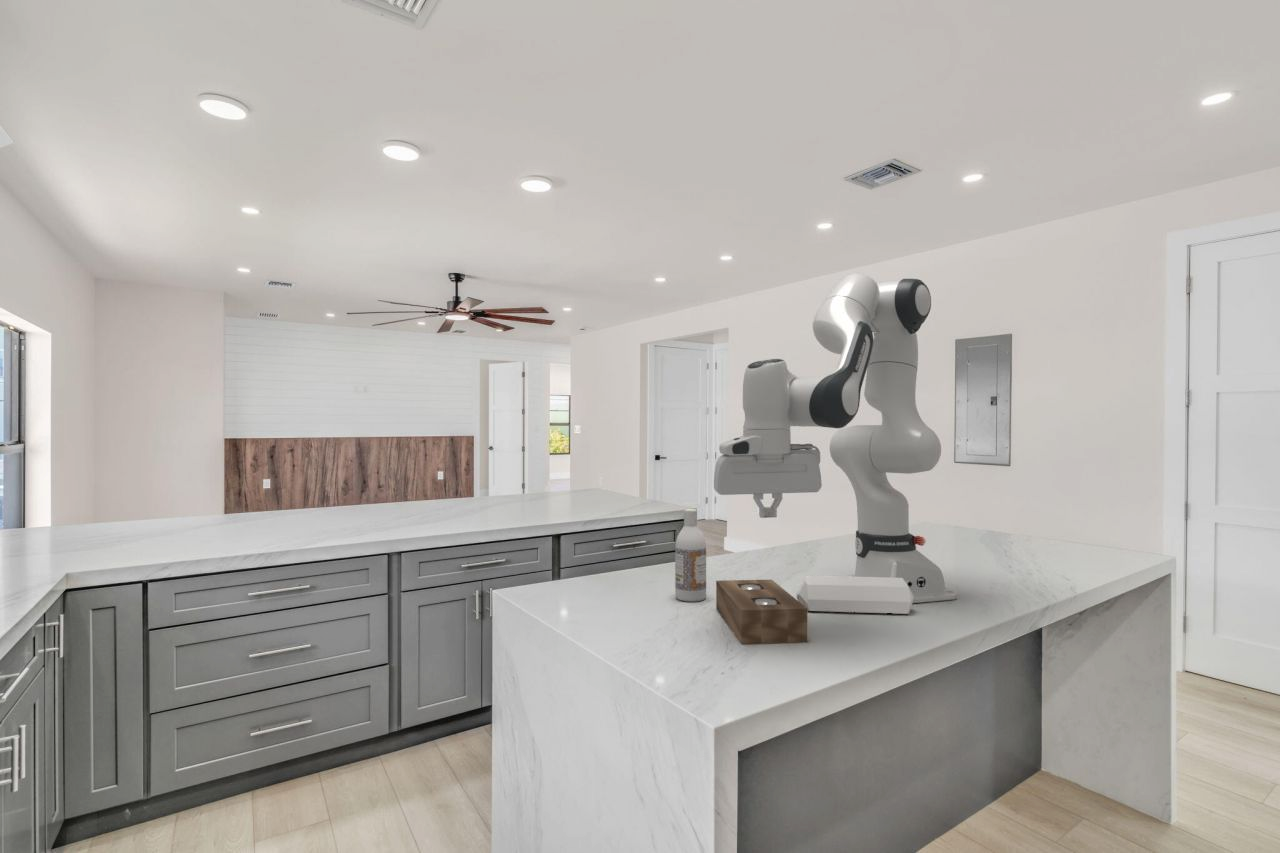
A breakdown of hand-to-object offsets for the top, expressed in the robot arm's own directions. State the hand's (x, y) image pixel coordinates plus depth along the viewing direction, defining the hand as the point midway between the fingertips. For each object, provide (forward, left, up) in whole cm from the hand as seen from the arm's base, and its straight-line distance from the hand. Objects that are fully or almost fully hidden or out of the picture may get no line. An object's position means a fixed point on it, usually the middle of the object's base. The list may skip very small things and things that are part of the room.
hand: (768, 517), depth 120 cm
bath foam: (+11, -24, -22) cm, 34 cm away
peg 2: (+1, +2, -21) cm, 21 cm away
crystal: (-22, -12, -22) cm, 33 cm away
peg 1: (+1, -9, -21) cm, 23 cm away
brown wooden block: (+1, -4, -21) cm, 22 cm away
